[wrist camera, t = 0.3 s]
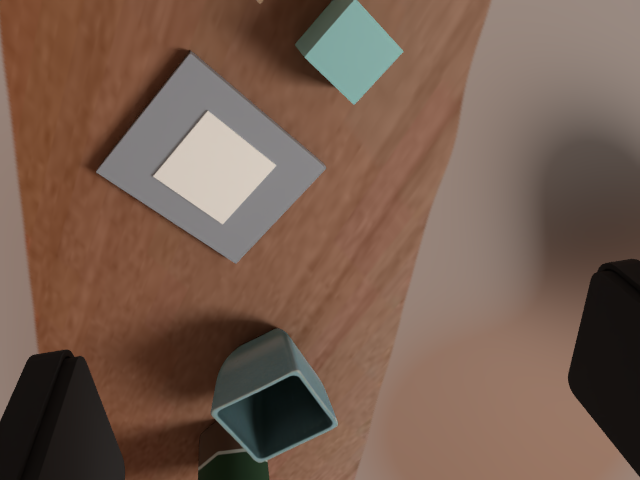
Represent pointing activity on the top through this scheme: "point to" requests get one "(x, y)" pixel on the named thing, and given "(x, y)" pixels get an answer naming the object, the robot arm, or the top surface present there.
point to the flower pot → (271, 397)
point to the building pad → (211, 161)
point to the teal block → (348, 48)
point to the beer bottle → (226, 458)
